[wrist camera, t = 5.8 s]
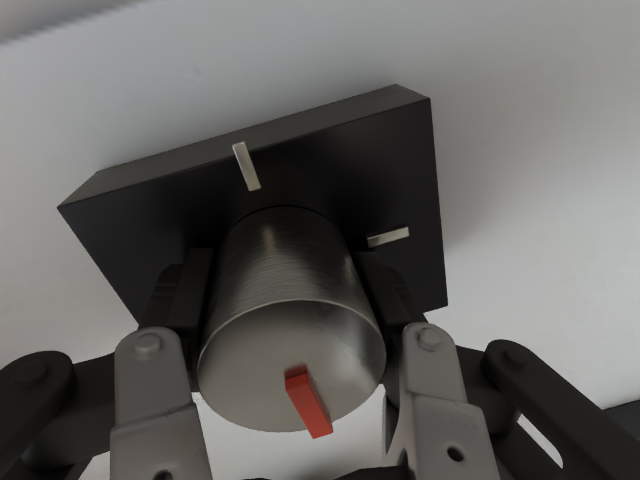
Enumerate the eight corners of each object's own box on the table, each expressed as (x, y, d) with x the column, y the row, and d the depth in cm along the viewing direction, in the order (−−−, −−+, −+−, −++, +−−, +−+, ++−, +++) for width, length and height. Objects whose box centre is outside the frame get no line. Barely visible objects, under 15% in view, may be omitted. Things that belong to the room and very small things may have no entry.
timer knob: (192, 233, 11) (152, 351, 7) (327, 186, 11) (367, 280, 7) (248, 330, 14) (242, 463, 9) (361, 293, 13) (406, 410, 9)
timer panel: (395, 74, 13) (432, 87, 10) (420, 268, 17) (451, 314, 14) (91, 163, 13) (45, 200, 10) (194, 334, 17) (182, 391, 14)
